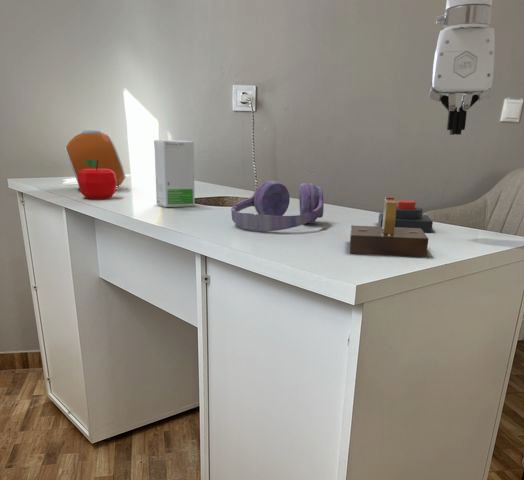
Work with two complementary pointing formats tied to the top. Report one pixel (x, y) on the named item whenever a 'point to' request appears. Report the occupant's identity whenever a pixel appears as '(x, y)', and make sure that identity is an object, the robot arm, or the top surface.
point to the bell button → (406, 205)
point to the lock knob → (389, 215)
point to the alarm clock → (94, 153)
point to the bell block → (410, 219)
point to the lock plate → (388, 241)
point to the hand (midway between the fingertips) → (455, 134)
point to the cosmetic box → (174, 173)
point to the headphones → (278, 207)
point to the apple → (96, 181)
